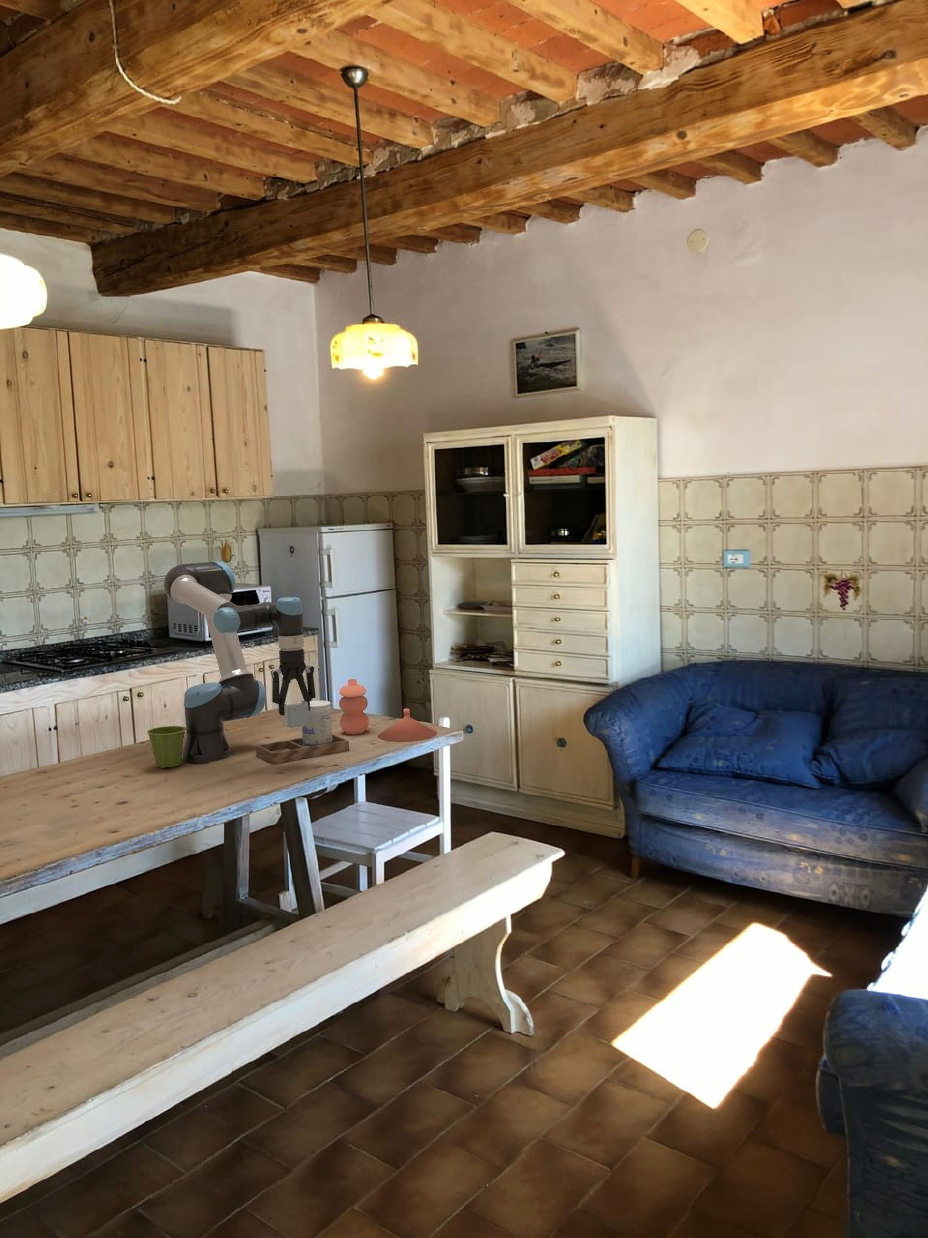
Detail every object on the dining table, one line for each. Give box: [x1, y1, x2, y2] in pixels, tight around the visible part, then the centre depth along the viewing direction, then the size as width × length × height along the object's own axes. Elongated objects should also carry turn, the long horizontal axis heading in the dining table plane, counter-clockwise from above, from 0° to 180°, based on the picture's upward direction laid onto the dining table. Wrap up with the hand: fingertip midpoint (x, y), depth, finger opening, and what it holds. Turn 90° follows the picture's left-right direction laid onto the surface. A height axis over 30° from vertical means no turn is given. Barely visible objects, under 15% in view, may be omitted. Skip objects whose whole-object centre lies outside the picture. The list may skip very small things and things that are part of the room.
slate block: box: [286, 702, 309, 729], centre depth 305 cm, size 6×6×6 cm
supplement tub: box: [301, 700, 333, 747], centre depth 323 cm, size 10×10×15 cm
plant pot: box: [146, 725, 186, 769], centre depth 310 cm, size 12×12×11 cm
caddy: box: [255, 733, 350, 765], centre depth 320 cm, size 26×14×3 cm, turn 123°
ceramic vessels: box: [338, 678, 438, 743], centre depth 342 cm, size 35×21×19 cm, turn 73°
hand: (295, 723), depth 305 cm, fingers closed on slate block, 6 cm apart
